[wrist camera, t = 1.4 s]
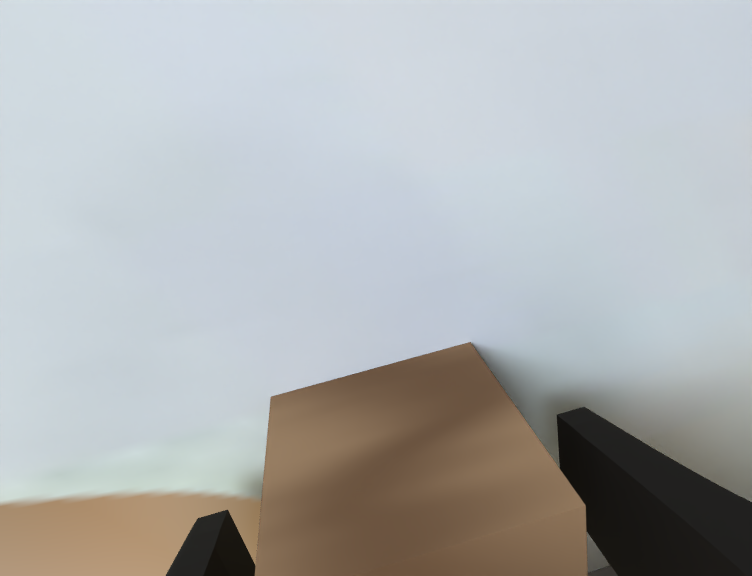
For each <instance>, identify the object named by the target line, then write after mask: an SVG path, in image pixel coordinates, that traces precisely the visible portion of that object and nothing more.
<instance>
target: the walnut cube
mask: <svg viewBox="0 0 752 576" xmlns="http://www.w3.org/2000/svg"><path fill="white" fill-rule="evenodd" d="M260 512H261V513H260V523H259V533H258V545H257V556H256V567H255V576H588V569H587V535H586V505H585V504H584V503H583V501H582V500H581V498H580V497H579V495H578V494H577V493H576V491H575V490H574V488H573V487H572V485H571V484H570V483H569V481H568V480H567V478H566V477H565V476H564V474H563V473H562V471H561V470H560V468H559V467H558V466H557V464H556V463H555V461H554V460H553V459H552V457H551V456H550V454H549V453H548V451H547V450H546V449H545V447H544V446H543V444H542V443H541V442H540V440H539V439H538V437H537V436H536V434H535V433H534V432H533V430H532V429H531V427H530V426H529V425H528V423H527V422H526V420H525V419H524V417H523V416H522V415H521V413H520V412H519V410H518V409H517V408H516V406H515V405H514V403H513V402H512V400H511V399H510V398H509V396H508V395H507V393H506V392H505V391H504V389H503V388H502V386H501V385H500V383H499V382H498V381H497V379H496V378H495V376H494V375H493V374H492V372H491V371H490V369H489V368H488V366H487V365H486V364H485V362H484V361H483V359H482V358H481V357H480V355H479V354H478V352H477V351H476V349H475V348H474V347H473V345H472V344H471V342H469V343H465V344H462V345H458V346H454V347H451V348H447V349H443V350H440V351H436V352H432V353H429V354H425V355H421V356H418V357H414V358H411V359H407V360H403V361H400V362H396V363H392V364H389V365H385V366H381V367H378V368H374V369H370V370H367V371H363V372H360V373H356V374H352V375H349V376H345V377H341V378H338V379H334V380H330V381H327V382H323V383H319V384H316V385H312V386H309V387H305V388H301V389H298V390H294V391H290V392H287V393H283V394H279V395H276V396H272V397H271V401H270V412H269V423H268V434H267V445H266V456H265V467H264V478H263V489H262V500H261V511H260Z"/></svg>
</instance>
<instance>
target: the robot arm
mask: <svg viewBox="0 0 752 576" xmlns="http://www.w3.org/2000/svg"><path fill="white" fill-rule="evenodd" d="M557 426H558V443H559V460H560V470H561V471H562V473H563V474H564V476H565V477H566V478H567V480H568V481H569V483H570V484H571V485H572V487H573V488H574V490H575V491H576V493H577V494H578V495H579V497H580V498H581V500H582V501H583V503H584V504H585V505H586V530H587V532H588V534H589V535H590V537H591V538H592V539H593V541H594V542H595V544H596V545H597V547H598V548H599V550H600V551H601V552H602V554H603V555H604V557H605V558H606V559H607V561H608V562H609V564H610V565H611V567H612V568H613V569H614V571H615V572H616V574H617V575H618V576H752V502H750V501H748V500H746V499H744V498H742V497H740V496H738V495H736V494H734V493H732V492H730V491H728V490H726V489H724V488H723V487H721V486H719V485H717V484H715V483H713V482H711V481H710V480H708V479H706V478H704V477H702V476H701V475H699V474H697V473H695V472H693V471H692V470H690V469H688V468H686V467H685V466H683V465H681V464H679V463H678V462H676V461H674V460H672V459H670V458H669V457H667V456H665V455H664V454H662V453H660V452H658V451H657V450H655V449H653V448H652V447H650V446H648V445H647V444H645V443H643V442H642V441H640V440H638V439H637V438H635V437H633V436H632V435H630V434H628V433H627V432H625V431H623V430H622V429H620V428H618V427H617V426H615V425H613V424H612V423H610V422H608V421H607V420H605V419H603V418H602V417H600V416H599V415H597V414H595V413H594V412H592V411H590V410H589V409H587V408H585V407H582V408H579V409H575V410H572V411H568V412H565V413H561V414H558V415H557ZM255 567H256V566H255V564H254V562H253V560H252V558H251V556H250V554H249V552H248V550H247V548H246V546H245V544H244V542H243V540H242V538H241V535H240V534H239V532H238V529H237V527H236V525H235V523H234V521H233V519H232V517H231V515H230V513H229V511H228V510H225V511H222V512H218V513H215V514H211V515H208V516H204V517H201V518H198V519H197V521H196V522H195V524H194V525H193V527H192V529H191V531H190V533H189V534H188V536H187V538H186V540H185V541H184V543H183V545H182V547H181V549H180V551H179V552H178V554H177V556H176V558H175V560H174V561H173V563H172V565H171V567H170V569H169V571H168V572H167V574H166V576H255Z"/></svg>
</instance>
